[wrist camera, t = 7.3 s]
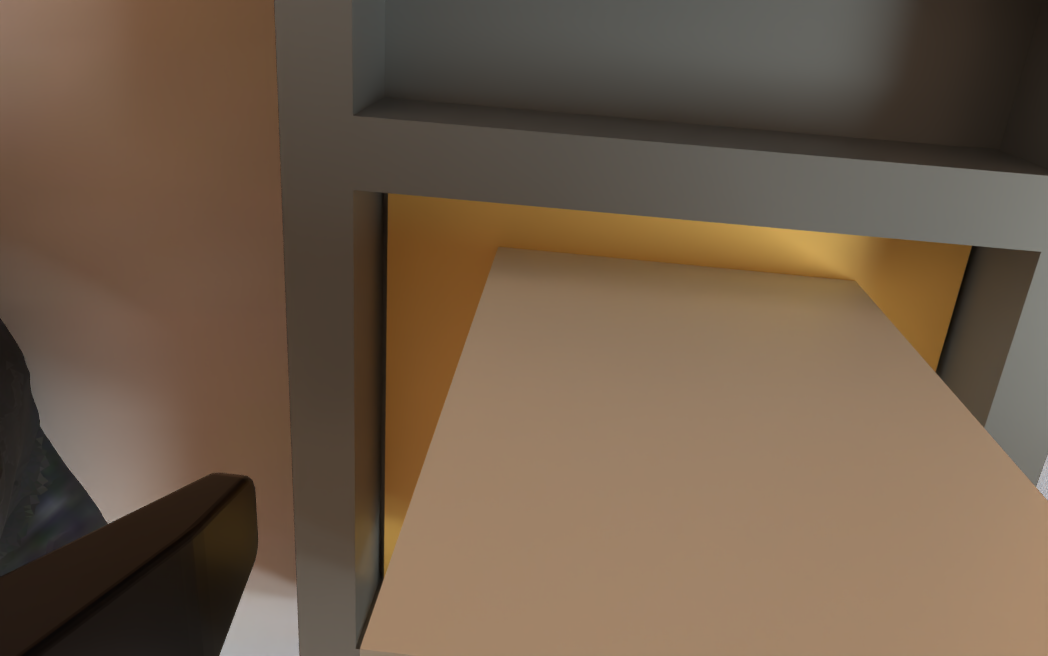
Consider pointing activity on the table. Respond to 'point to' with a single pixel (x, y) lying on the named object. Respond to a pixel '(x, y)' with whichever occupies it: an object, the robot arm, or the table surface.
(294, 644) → the table surface
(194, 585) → the robot arm
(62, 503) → the dark slate chunk
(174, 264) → the table surface
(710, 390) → the plug
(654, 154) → the pdu strip
